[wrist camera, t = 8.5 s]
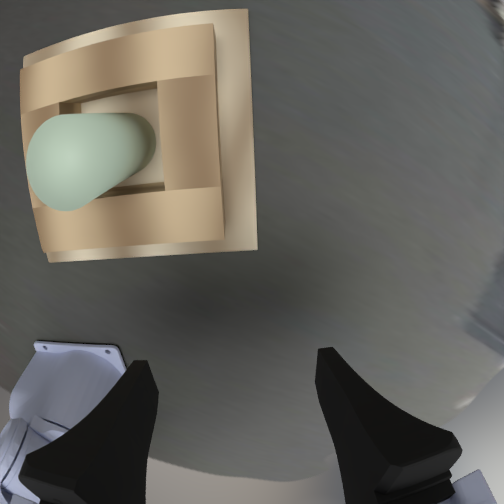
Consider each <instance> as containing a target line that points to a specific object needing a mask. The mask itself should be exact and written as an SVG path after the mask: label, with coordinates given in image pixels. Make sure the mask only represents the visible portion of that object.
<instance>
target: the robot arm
mask: <svg viewBox="0 0 504 504" xmlns="http://www.w3.org/2000/svg"><path fill="white" fill-rule="evenodd" d="M34 347H35V349H36V351H37V352H36V353H35V355H34V356H33V358H32V359H31V361H30V362H29V364H28V366H27V367H26V369H25V370H24V372H23V374H22V375H21V377H20V379H19V380H18V382H17V384H16V385H15V387H14V389H13V391H12V393H11V397H10V404H9V412H10V418H11V420H10V421H9V422H8V423H7V424H6V426H5V427H4V429H3V430H2V432H1V434H0V504H146V501H145V500H146V498H145V494H146V492H145V490H146V468H147V459H148V452H149V447H150V443H151V438H152V433H153V429H154V424H155V419H156V415H157V407H158V394H159V392H158V389H157V386H156V384H155V381H154V378H153V375H152V373H151V370H150V367H149V364H148V361H147V360H134V361H133V362H132V364H131V365H130V366H129V367H128V369H126V367H125V364H124V362H123V359H122V356H121V353H120V351H119V349H118V347H116V346H114V345H92V344H73V343H57V342H44V341H36V342H35V343H34ZM108 350H109V351H108ZM315 384H316V389H317V394H318V399H319V403H320V406H321V408H322V411H323V414H324V417H325V420H326V423H327V426H328V428H329V431H330V434H331V437H332V440H333V443H334V446H335V449H336V454H337V458H338V463H339V468H340V472H341V478H342V483H343V489H344V495H345V502H346V504H497V503H496V500H495V498H494V496H493V494H492V492H491V490H490V488H489V486H488V484H487V482H486V480H485V478H484V476H483V475H482V472H481V471H480V470H479V469H478V470H476V471H474V472H472V473H470V474H468V475H467V476H464V477H463V478H460V479H459V480H457V481H455V482H454V483H453V484H452V483H451V481H450V478H451V477H452V474H451V472H450V470H449V469H450V468H451V467H452V466H453V464H454V463H455V462H456V461H457V460H458V459H459V457H460V456H461V454H462V448H461V446H460V444H459V442H458V440H457V439H456V437H455V436H454V435H453V433H452V432H450V431H447V430H444V429H441V428H439V427H436V426H433V425H431V424H428V423H426V422H424V421H422V420H420V419H418V418H416V417H414V416H412V415H410V414H408V413H407V412H405V411H403V410H401V409H400V408H398V407H397V406H395V405H394V404H392V403H391V402H389V401H388V400H387V399H385V398H384V397H383V396H381V395H380V394H379V393H378V392H376V391H375V390H374V389H373V388H372V387H371V386H370V385H368V384H367V383H366V382H365V381H364V380H363V379H362V378H361V377H360V376H359V375H358V374H357V373H356V372H355V371H354V370H353V369H352V368H351V367H350V366H349V365H348V364H347V363H346V361H345V360H344V359H343V358H342V357H341V356H340V355H339V354H338V352H337V351H336V350H335V349H334V348H333V347H328V348H320V349H318V356H317V366H316V376H315Z"/></svg>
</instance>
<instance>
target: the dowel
mask: <svg viewBox="0 0 504 504" xmlns="http://www.w3.org/2000/svg"><path fill="white" fill-rule="evenodd" d="M155 149H156V136H155V133H154V130H153V128H152V126H151V124H150V123H149V122H148V121H147V120H146V119H145V118H143V117H142V116H140V115H138V114H134V113H82V114H63V115H57V116H54V117H52V118H50V119H48V120H47V121H45V122H44V123H43V124H42V125H41V126H40V127H39V128H38V129H37V130H36V132H35V133H34V135H33V137H32V139H31V141H30V143H29V146H28V150H27V155H26V170H27V176H28V180H29V183H30V185H31V187H32V189H33V191H34V193H35V194H36V196H37V197H38V198H39V199H40V200H41V201H42V202H43V203H44V204H46V205H47V206H49V207H50V208H52V209H55V210H59V211H73V210H76V209H79V208H81V207H83V206H84V205H86V204H87V203H89V202H90V201H92V200H94V199H95V198H97V197H98V196H100V195H101V194H103V193H104V192H106V191H108V190H109V189H111V188H112V187H114V186H116V185H117V184H119V183H121V182H122V181H124V180H125V179H127V178H129V177H131V176H132V175H134V174H136V173H137V172H139V171H141V170H142V169H144V168H145V167H146V166H147V165H148V164H149V162H150V161H151V159H152V158H153V155H154V153H155Z"/></svg>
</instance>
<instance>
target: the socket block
mask: <svg viewBox="0 0 504 504" xmlns="http://www.w3.org/2000/svg"><path fill="white" fill-rule="evenodd" d="M20 108H21V125H22V138H23V148H24V157H25V165H26V155H27V150H28V146H29V143H30V141H31V139H32V137H33V135H34V133H35V132H36V130H37V129H38V128H39V127H40V126H41V125H42V124H43V123H44V122H45V121H47V120H48V119H50V118H52V117H54V116H57V115H63V114H82V113H134V114H138V115H140V116H142V117H143V118H145V119H146V120H147V121H148V122H149V123H150V124H151V126H152V128H153V130H154V133H155V136H156V149H155V153H154V155H153V158H152V159H151V161H150V162H149V164H148V165H147V166H146V167H145V168H144V169H142V170H141V171H139V172H137V173H136V174H134V175H132V176H131V177H129V178H127V179H125V180H124V181H122V182H121V183H119V184H117V185H116V186H114V187H112V188H111V189H109V190H108V191H106V192H104V193H103V194H101V195H100V196H98V197H97V198H95V199H94V200H92V201H90V202H89V203H87V204H86V205H84V206H83V207H81V208H79V209H76V210H73V211H59V210H55V209H52V208H50V207H49V206H47V205H46V204H44V203H43V202H42V201H41V200H40V199H39V198H38V197H37V196H36V194H35V193H34V191H33V189H32V187H31V185H30V183H29V180H28V185H29V191H30V196H31V202H32V207H33V212H34V216H35V221H36V225H37V230H38V234H39V238H40V242H41V246H42V250H43V253H44V252H46V253H47V257H48V260H49V263H50V262H66V261H82V260H98V259H114V258H130V257H146V256H162V255H179V254H195V253H212V252H228V251H245V250H258V248H257V220H256V192H255V166H254V140H253V115H252V91H251V67H250V44H249V22H248V9H228V10H212V11H200V12H191V13H182V14H175V15H168V16H161V17H155V18H150V19H144V20H139V21H134V22H130V23H125V24H121V25H117V26H113V27H109V28H105V29H101V30H98V31H94V32H91V33H87V34H84V35H81V36H77V37H74V38H71V39H68V40H65V41H62V42H60V43H57V44H54V45H51V46H49V47H46V48H44V49H41V50H38V51H36V52H34V53H31V54H29V55H27V56H24V62H23V69H21V70H20ZM26 172H27V170H26ZM27 178H28V176H27Z"/></svg>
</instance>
